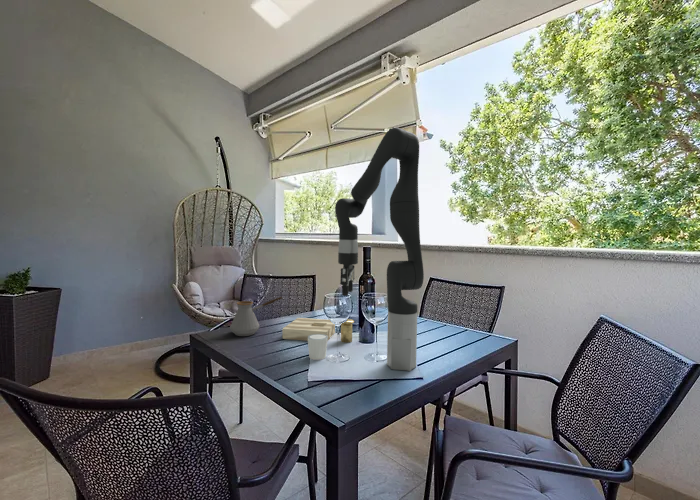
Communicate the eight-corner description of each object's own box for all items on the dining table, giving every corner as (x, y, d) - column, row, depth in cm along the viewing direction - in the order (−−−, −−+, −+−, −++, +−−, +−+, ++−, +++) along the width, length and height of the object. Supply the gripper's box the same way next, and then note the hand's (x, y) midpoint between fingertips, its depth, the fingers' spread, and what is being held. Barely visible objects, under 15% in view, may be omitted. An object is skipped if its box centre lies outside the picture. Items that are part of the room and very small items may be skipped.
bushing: (352, 343, 132) (352, 322, 131) (337, 342, 133) (337, 322, 132) (355, 339, 137) (355, 319, 137) (340, 338, 138) (341, 318, 138)
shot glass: (309, 361, 113) (309, 340, 113) (305, 354, 120) (306, 334, 120) (329, 359, 115) (329, 338, 115) (325, 352, 122) (325, 332, 121)
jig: (326, 342, 133) (327, 331, 133) (282, 338, 137) (282, 328, 137) (337, 329, 151) (337, 320, 151) (298, 326, 155) (298, 317, 154)
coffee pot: (227, 338, 137) (227, 300, 136) (232, 330, 148) (232, 295, 147) (283, 336, 140) (283, 299, 140) (283, 328, 152) (284, 294, 151)
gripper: (354, 253, 126) (353, 297, 127) (361, 250, 140) (360, 290, 141) (334, 252, 127) (333, 296, 128) (342, 250, 141) (342, 289, 142)
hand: (347, 293), depth 134 cm, fingers open, 8 cm apart
